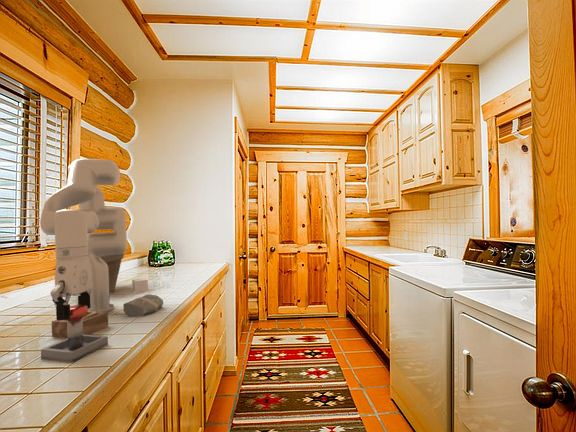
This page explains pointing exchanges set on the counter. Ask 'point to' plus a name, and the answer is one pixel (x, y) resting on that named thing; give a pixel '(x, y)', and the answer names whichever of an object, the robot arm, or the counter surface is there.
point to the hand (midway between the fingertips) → (74, 313)
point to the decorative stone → (142, 306)
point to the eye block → (90, 324)
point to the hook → (76, 326)
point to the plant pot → (113, 269)
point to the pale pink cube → (140, 285)
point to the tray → (63, 354)
